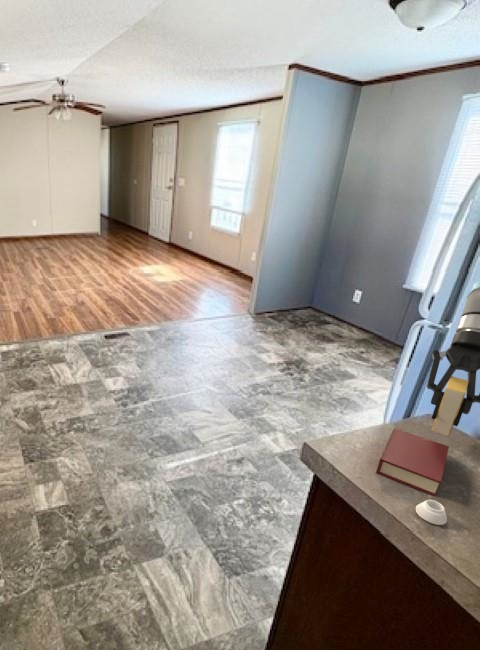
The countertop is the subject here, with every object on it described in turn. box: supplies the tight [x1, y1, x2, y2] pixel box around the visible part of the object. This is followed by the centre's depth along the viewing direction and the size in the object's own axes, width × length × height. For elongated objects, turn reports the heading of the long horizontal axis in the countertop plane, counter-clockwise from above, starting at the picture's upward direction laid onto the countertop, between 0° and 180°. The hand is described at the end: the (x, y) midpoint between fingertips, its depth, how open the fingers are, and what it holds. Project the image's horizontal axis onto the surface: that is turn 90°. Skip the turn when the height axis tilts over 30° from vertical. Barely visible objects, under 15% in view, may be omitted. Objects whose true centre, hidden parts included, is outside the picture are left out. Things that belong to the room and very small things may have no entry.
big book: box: [375, 427, 450, 497], centre depth 98 cm, size 16×11×4 cm
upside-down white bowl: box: [415, 499, 448, 526], centre depth 84 cm, size 5×3×5 cm
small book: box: [430, 375, 469, 437], centre depth 102 cm, size 4×8×12 cm, turn 137°
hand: (444, 420), depth 100 cm, fingers closed on small book, 3 cm apart
